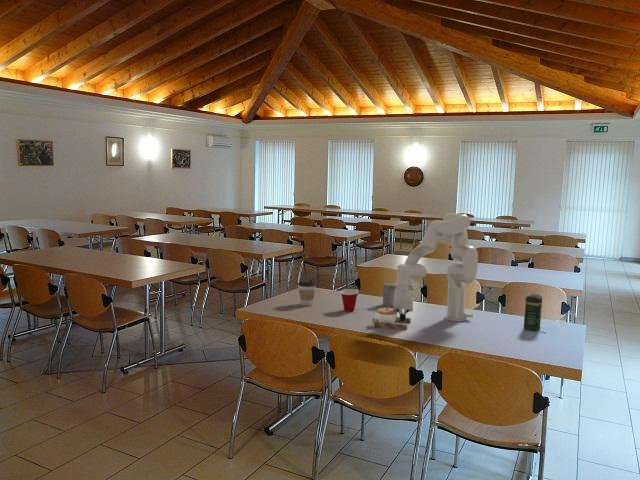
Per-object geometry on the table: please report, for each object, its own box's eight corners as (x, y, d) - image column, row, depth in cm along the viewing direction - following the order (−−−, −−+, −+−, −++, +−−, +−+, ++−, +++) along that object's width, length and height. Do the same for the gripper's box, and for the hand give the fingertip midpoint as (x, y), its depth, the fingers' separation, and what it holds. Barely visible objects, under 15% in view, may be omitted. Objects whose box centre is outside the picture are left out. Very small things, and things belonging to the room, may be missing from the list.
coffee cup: (316, 307, 336) (316, 282, 334) (297, 306, 336) (297, 282, 334) (316, 302, 347) (316, 279, 345) (298, 302, 347) (298, 278, 346)
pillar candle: (387, 302, 350) (388, 279, 348) (401, 305, 344) (402, 281, 342) (379, 305, 342) (380, 281, 340) (393, 308, 336) (394, 283, 334)
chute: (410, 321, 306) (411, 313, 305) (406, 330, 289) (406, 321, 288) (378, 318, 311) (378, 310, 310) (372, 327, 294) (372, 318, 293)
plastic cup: (336, 310, 328) (336, 290, 326) (347, 307, 336) (348, 288, 334) (350, 314, 320) (350, 293, 319) (361, 310, 328) (362, 290, 327)
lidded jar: (401, 324, 299) (401, 307, 298) (386, 328, 293) (387, 310, 292) (386, 320, 308) (387, 303, 307) (372, 323, 301) (373, 306, 300)
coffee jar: (537, 332, 289) (540, 297, 287) (522, 329, 294) (524, 295, 291) (541, 328, 297) (544, 294, 295) (526, 325, 302) (528, 292, 299)
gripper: (418, 287, 297) (417, 320, 299) (390, 285, 301) (389, 318, 304) (417, 290, 290) (415, 324, 292) (388, 288, 294) (387, 321, 296)
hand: (402, 321), depth 298 cm, fingers closed
